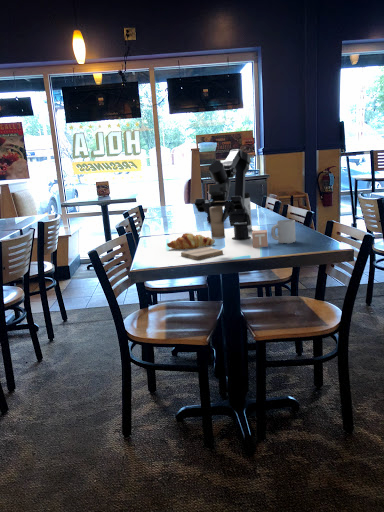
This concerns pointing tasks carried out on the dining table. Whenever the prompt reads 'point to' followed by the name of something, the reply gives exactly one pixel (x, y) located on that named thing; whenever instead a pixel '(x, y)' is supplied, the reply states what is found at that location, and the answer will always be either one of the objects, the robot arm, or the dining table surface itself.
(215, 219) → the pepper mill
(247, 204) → the travel mug
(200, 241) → the croissant
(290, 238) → the cup
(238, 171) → the robot arm
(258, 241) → the marked block
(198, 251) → the walnut board
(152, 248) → the dining table surface
